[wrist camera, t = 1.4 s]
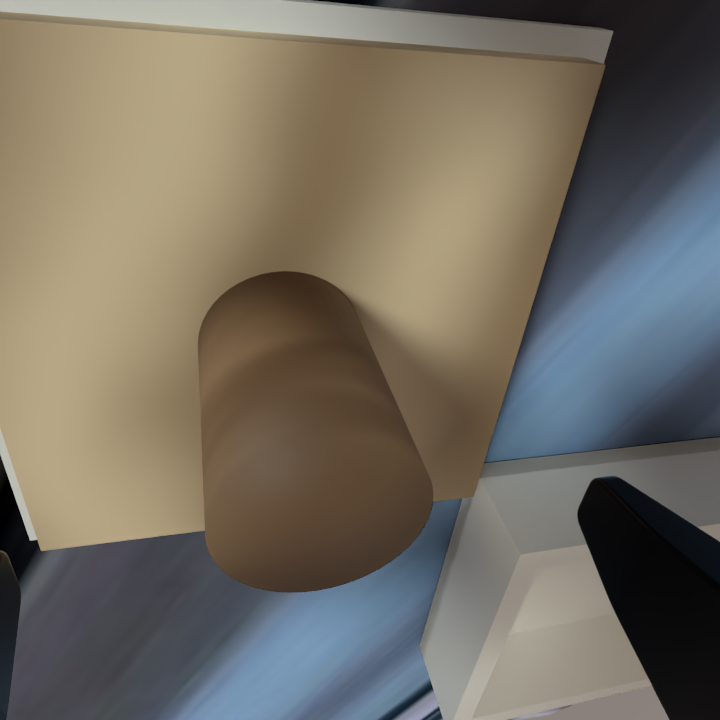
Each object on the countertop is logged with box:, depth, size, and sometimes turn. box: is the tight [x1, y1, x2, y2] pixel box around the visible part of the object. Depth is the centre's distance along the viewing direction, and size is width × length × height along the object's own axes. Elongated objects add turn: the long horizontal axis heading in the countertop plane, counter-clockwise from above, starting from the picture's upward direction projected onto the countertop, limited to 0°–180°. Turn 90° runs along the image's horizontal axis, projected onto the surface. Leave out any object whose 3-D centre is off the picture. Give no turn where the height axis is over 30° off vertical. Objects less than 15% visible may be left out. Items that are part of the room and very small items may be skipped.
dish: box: [420, 437, 720, 720], centre depth 22 cm, size 11×11×4 cm
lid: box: [0, 11, 606, 592], centre depth 12 cm, size 12×12×6 cm
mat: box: [0, 0, 613, 540], centre depth 14 cm, size 13×13×1 cm
